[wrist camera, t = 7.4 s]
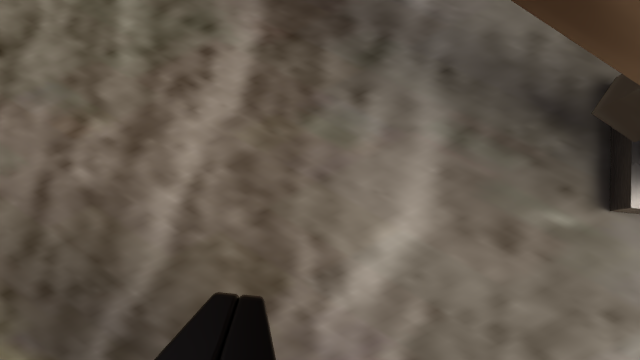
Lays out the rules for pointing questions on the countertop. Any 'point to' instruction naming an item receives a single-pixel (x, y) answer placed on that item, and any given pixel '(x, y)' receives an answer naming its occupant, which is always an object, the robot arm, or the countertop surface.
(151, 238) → the countertop surface
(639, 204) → the gate post
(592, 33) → the gate
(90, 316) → the countertop surface
